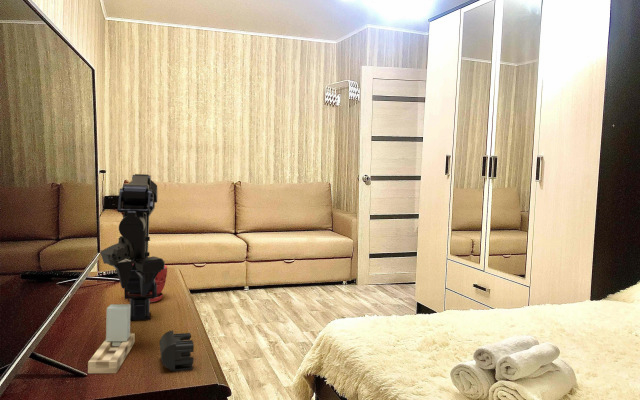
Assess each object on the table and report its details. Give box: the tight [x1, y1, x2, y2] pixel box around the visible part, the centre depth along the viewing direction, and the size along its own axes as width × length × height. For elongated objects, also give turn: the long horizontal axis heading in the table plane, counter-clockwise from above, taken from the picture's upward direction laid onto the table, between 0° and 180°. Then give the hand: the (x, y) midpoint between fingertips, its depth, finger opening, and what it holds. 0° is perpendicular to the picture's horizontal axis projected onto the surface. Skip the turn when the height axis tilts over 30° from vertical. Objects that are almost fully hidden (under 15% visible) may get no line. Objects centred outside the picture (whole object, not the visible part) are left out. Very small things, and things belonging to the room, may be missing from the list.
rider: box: [105, 303, 131, 346], centre depth 132 cm, size 4×5×10 cm
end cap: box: [159, 329, 195, 373], centre depth 125 cm, size 10×7×7 cm
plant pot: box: [128, 264, 168, 303], centre depth 180 cm, size 13×13×12 cm
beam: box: [87, 332, 136, 374], centre depth 127 cm, size 20×6×3 cm, turn 8°
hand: (133, 291), depth 138 cm, fingers open, 9 cm apart
